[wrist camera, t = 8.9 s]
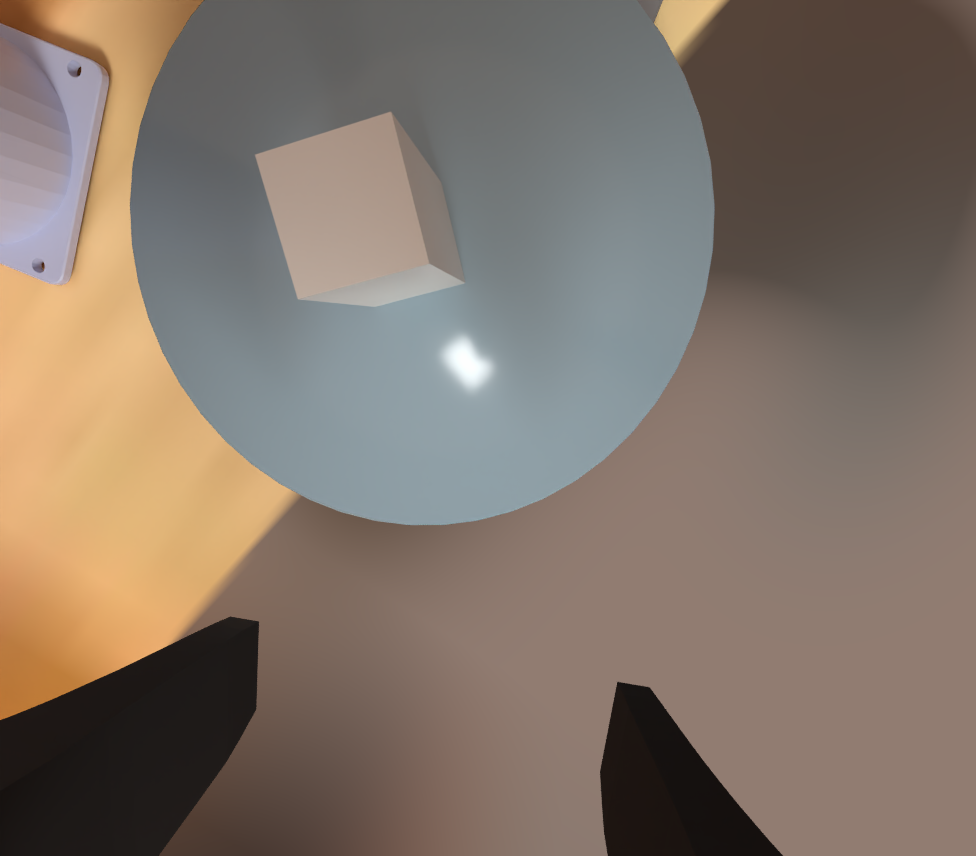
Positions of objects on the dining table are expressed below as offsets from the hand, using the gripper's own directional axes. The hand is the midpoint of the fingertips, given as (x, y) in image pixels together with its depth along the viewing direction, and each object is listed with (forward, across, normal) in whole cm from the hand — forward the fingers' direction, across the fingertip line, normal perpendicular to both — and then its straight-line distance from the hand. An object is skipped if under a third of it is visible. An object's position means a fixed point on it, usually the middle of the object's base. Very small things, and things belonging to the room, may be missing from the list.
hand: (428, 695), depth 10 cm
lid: (+7, +3, -9) cm, 12 cm away
